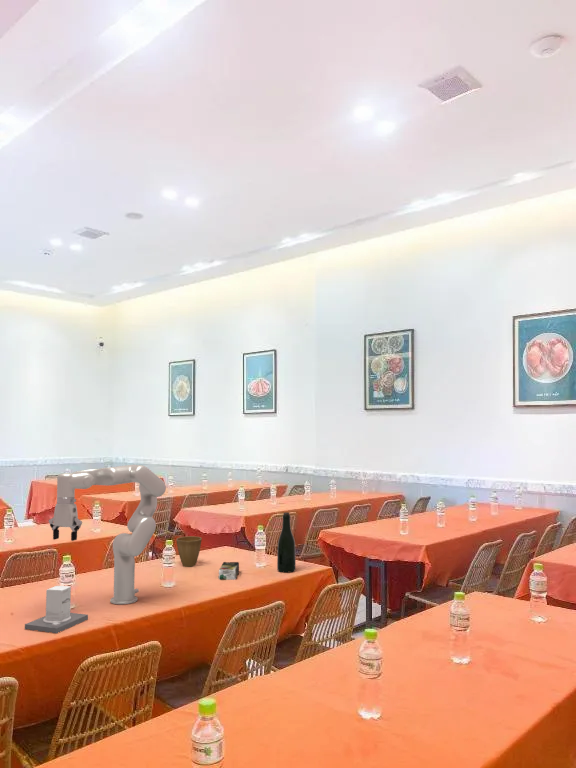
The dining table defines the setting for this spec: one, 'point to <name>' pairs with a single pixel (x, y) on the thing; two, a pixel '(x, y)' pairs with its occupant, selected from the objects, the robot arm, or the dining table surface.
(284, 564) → the beer bottle
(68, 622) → the mount plate
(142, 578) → the dining table surface
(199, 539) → the plant pot
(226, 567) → the juice carton
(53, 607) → the supplement box
